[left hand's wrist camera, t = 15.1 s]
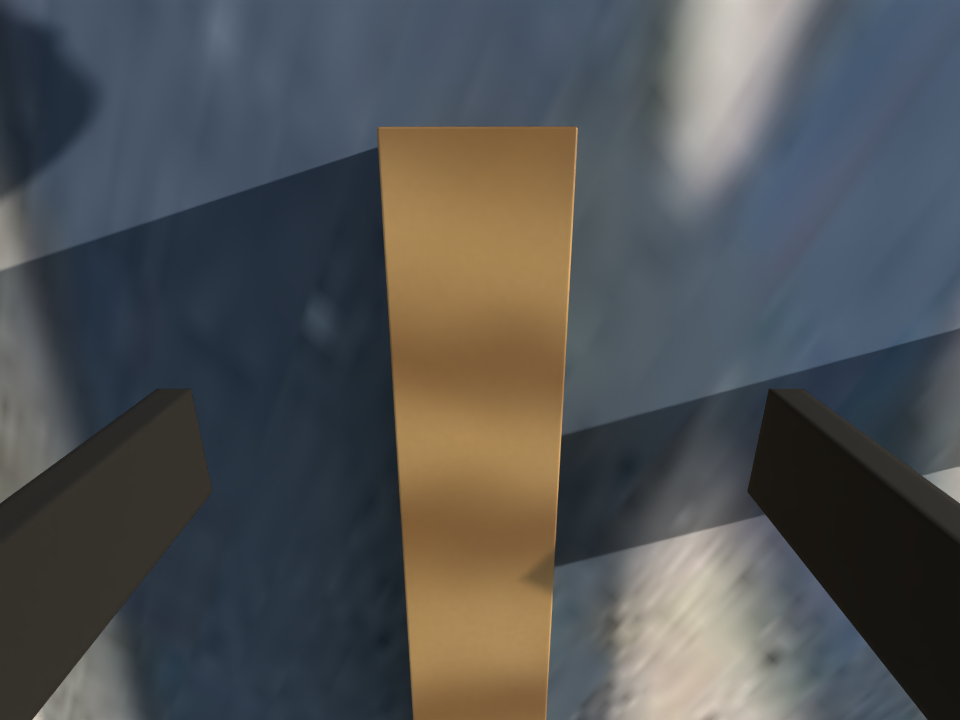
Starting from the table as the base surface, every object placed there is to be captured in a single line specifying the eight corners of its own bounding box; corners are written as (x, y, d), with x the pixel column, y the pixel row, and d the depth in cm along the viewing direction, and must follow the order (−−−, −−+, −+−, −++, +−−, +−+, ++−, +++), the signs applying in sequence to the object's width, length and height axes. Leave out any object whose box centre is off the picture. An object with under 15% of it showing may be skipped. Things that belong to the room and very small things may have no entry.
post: (402, 138, 24) (376, 126, 17) (547, 138, 24) (578, 126, 18) (436, 857, 42) (429, 994, 35) (521, 855, 42) (531, 991, 35)
